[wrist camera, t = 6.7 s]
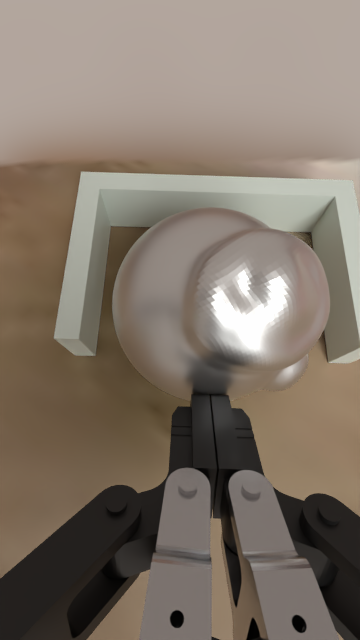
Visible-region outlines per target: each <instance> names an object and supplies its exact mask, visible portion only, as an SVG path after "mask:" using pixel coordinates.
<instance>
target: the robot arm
mask: <svg viewBox="0 0 360 640" xmlns="http://www.w3.org/2000/svg"><path fill="white" fill-rule="evenodd" d="M212 508H213V518H220V519H221V525H222V535H221V548H222V554H223V560H224V566H225V572H226V578H227V584H228V591H229V597H230V603H231V609H232V618H233V640H339V638H338V635H337V633H336V631H337V632H338V633H339V634H340V635H341V637H342V638H343V639H344V640H360V517H359V516H358V515H357V514H355V513H354V512H353V511H351V510H350V509H349V508H348V507H346V506H345V505H344V504H343V503H341V502H340V501H339V500H337V499H335V498H334V497H331V496H329V495H326V494H320V493H317V494H312V495H310V496H308V497H307V498H306V499H305V501H302V500H300V499H297V498H294V497H291V496H288V495H285V494H283V493H281V492H279V491H278V490H276V489H275V488H274V487H273V486H272V485H271V483H270V482H269V481H268V479H267V478H265V476H264V473H263V470H262V466H261V462H260V458H259V454H258V450H257V446H256V442H255V440H254V434H253V431H252V427H251V423H250V419H249V417H248V416H247V415H246V413H245V412H244V411H243V410H242V409H236V408H231V405H230V399H229V396H228V395H210V397H209V395H207V394H191V404H190V407H180V406H178V407H177V409H176V410H175V412H174V413H173V415H172V427H171V444H170V461H169V472H168V475H167V477H166V479H165V480H164V481H163V482H162V483H161V484H160V485H159V486H158V487H156V488H154V489H151V490H149V491H145V492H141V493H137V492H136V491H135V490H134V489H133V488H131V487H129V486H125V485H115V486H111V487H109V488H107V489H105V490H104V491H102V492H101V493H100V494H99V495H97V496H96V497H95V498H94V499H93V500H92V501H90V502H89V503H88V504H87V505H86V506H85V507H83V508H82V509H81V510H80V511H79V512H78V513H76V514H75V515H74V516H73V517H72V518H71V519H69V520H68V521H67V522H66V523H65V524H64V525H62V526H61V527H60V528H59V529H58V530H57V531H55V532H54V533H53V534H52V535H51V536H50V537H48V538H47V539H46V540H45V541H44V542H43V543H41V544H40V545H39V546H38V547H37V548H36V549H34V550H33V551H32V552H31V553H30V554H29V555H27V556H26V557H25V558H24V559H23V560H22V561H21V562H19V563H18V564H17V565H16V566H15V567H14V568H12V569H11V570H10V571H9V572H8V573H7V574H5V575H4V576H3V577H2V578H1V579H0V640H86V639H87V638H88V637H89V636H90V635H91V633H92V632H93V631H94V630H95V629H96V627H97V626H98V625H99V624H100V622H101V621H102V620H103V619H104V618H105V616H106V615H107V614H108V613H109V612H110V610H111V609H112V608H113V607H114V605H115V604H116V603H117V602H118V601H119V599H120V598H121V597H122V596H123V595H124V593H125V592H126V591H127V590H128V588H129V587H130V586H131V585H132V584H133V582H134V581H135V580H136V579H137V577H138V576H139V574H140V573H141V572H143V571H146V570H149V569H150V574H149V580H148V587H147V593H146V599H145V606H144V612H143V618H142V625H141V631H140V637H139V640H219V639H217V638H214V637H211V601H212V565H211V557H210V518H211V517H212Z"/></svg>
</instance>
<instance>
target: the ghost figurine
mask: <svg viewBox="0 0 360 640" xmlns="http://www.w3.org/2000/svg"><path fill="white" fill-rule="evenodd" d="M329 312H330V294H329V287H328V282H327V278H326V274H325V271H324V268H323V266H322V264H321V262H320V260H319V258H318V256H317V255H316V253H315V252H314V251H313V250H312V248H311V247H310V246H308V245H307V244H306V243H305V242H304V241H302V240H300V239H299V238H297V237H295V236H294V235H291V234H289V233H287V232H285V231H281V230H277V229H272V228H270V227H269V226H268V225H266V224H265V223H263V222H262V221H260V220H258V219H256V218H254V217H252V216H250V215H248V214H245V213H242V212H239V211H235V210H231V209H226V208H217V207H205V208H195V209H190V210H186V211H182V212H179V213H176V214H174V215H171V216H169V217H167V218H165V219H163V220H161V221H160V222H158V223H157V224H155V225H154V226H152V227H151V228H150V229H148V230H147V231H146V232H145V233H144V234H143V235H142V236H141V237H140V238H139V239H138V240H137V241H136V242H135V243H134V245H133V246H132V247H131V249H130V250H129V251H128V253H127V255H126V256H125V258H124V260H123V262H122V264H121V266H120V268H119V271H118V274H117V277H116V280H115V284H114V289H113V298H112V313H113V322H114V327H115V331H116V334H117V337H118V340H119V343H120V345H121V347H122V349H123V351H124V353H125V355H126V356H127V358H128V359H129V361H130V362H131V364H132V365H133V366H134V368H135V369H136V370H137V371H138V372H139V373H140V374H141V375H142V376H143V377H144V378H145V379H146V380H147V381H149V382H150V383H151V384H153V385H154V386H156V387H157V388H159V389H160V390H162V391H164V392H166V393H168V394H170V395H172V396H175V397H178V398H181V399H184V400H188V401H191V394H207V395H209V397H210V395H228V396H229V399H230V401H232V400H236V399H239V398H242V397H245V396H247V395H250V394H252V393H254V392H256V391H258V390H269V391H282V390H286V389H288V388H290V387H292V386H293V385H294V384H296V383H297V382H298V381H299V379H300V378H301V377H302V376H303V374H304V373H305V371H306V369H307V366H308V352H309V351H310V350H311V349H312V348H313V347H314V345H315V344H316V342H317V341H318V340H319V338H320V336H321V334H322V332H323V331H324V329H325V326H326V324H327V320H328V317H329Z"/></svg>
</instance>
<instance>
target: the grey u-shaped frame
mask: <svg viewBox="0 0 360 640" xmlns="http://www.w3.org/2000/svg"><path fill="white" fill-rule="evenodd" d="M205 207H217V208H226V209H231V210H235V211H239V212H242V213H245V214H248V215H250V216H252V217H254V218H256V219H258V220H260V221H262V222H263V223H265V224H266V225H268V226H269V227H270V228H272V229H277V230H281V231H286V232H311V235H312V243H313V250H314V252H315V253H316V255H317V256H318V258H319V260H320V262H321V264H322V266H323V268H324V271H325V274H326V278H327V282H328V287H329V294H330V312H329V317H328V320H327V324H326V326H325V329H324V333H325V341H326V349H327V356H328V363H351V362H353V361H356V360H358V359H360V214H359V209H358V204H357V199H356V194H355V189H354V184H353V180H326V179H295V178H263V177H231V176H200V175H168V174H137V173H105V172H81V177H80V183H79V189H78V195H77V201H76V207H75V213H74V219H73V225H72V231H71V237H70V243H69V249H68V255H67V261H66V267H65V273H64V279H63V285H62V291H61V297H60V303H59V309H58V315H57V321H56V327H55V333H54V339H55V340H56V341H58V342H59V343H60V344H61V345H63V346H64V347H65V348H66V349H68V350H69V351H70V352H71V353H73V354H74V355H77V356H96V349H97V341H98V332H99V324H100V315H101V307H102V298H103V290H104V281H105V273H106V264H107V256H108V247H109V239H110V230H111V226H124V227H152V226H154V225H155V224H157V223H158V222H160V221H161V220H163V219H165V218H167V217H169V216H171V215H174V214H176V213H179V212H182V211H186V210H190V209H195V208H205Z"/></svg>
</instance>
